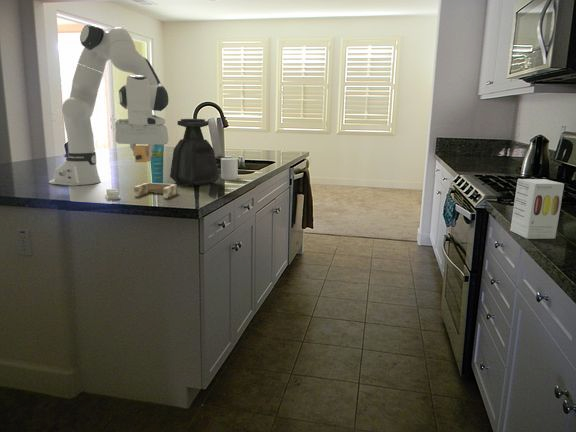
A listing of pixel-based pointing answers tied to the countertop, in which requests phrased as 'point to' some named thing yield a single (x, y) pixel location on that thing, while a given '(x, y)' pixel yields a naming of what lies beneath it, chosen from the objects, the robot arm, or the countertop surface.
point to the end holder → (156, 189)
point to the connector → (142, 153)
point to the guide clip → (112, 194)
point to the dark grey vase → (194, 156)
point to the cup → (229, 168)
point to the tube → (157, 164)
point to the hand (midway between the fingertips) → (142, 156)
